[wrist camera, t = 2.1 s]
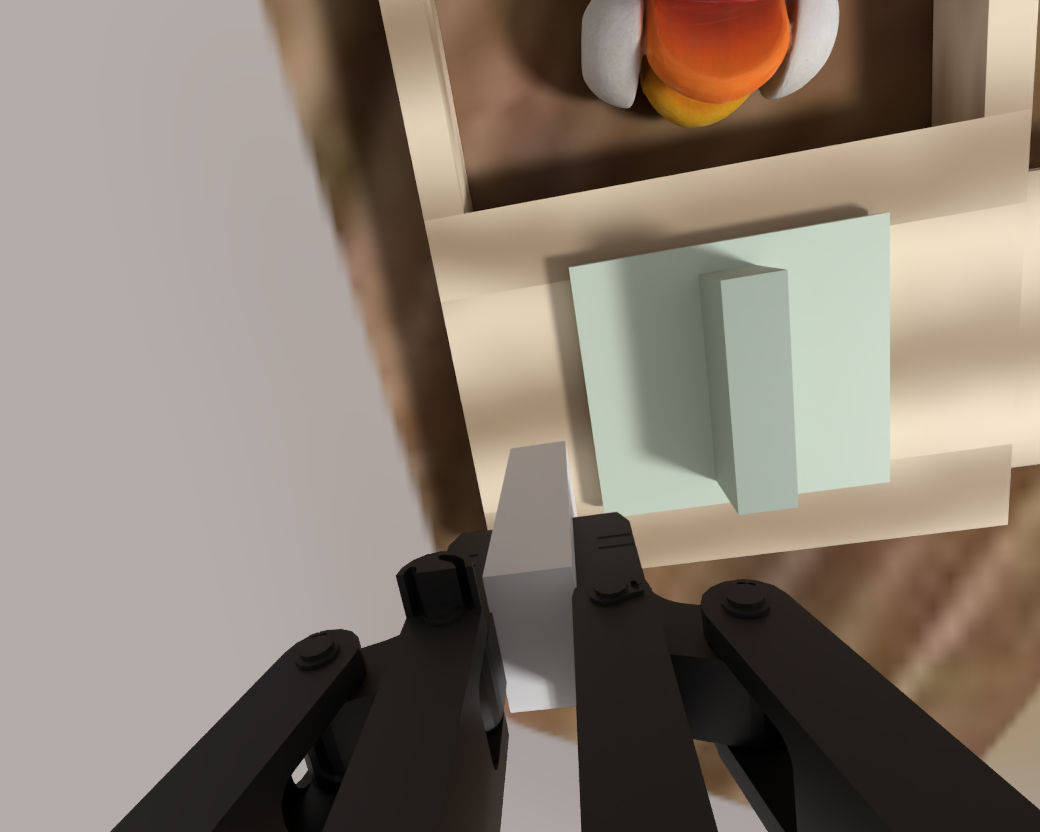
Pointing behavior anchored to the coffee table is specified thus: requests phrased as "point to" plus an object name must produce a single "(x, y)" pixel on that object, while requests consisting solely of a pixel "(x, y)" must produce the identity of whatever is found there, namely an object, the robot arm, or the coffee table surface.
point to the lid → (739, 368)
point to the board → (755, 210)
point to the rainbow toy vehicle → (703, 52)
